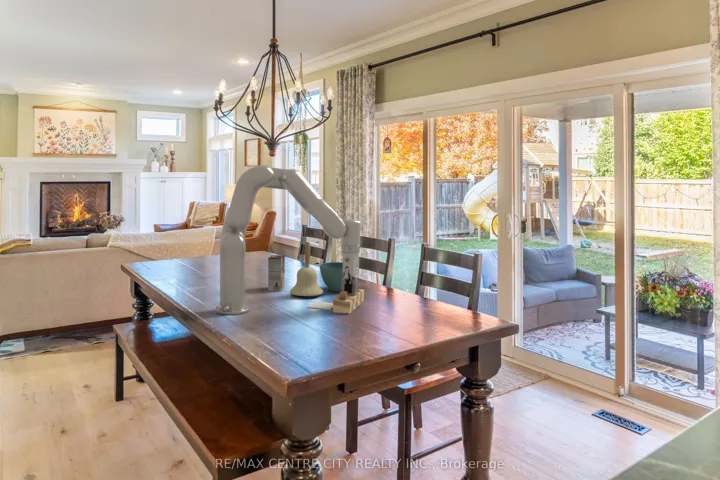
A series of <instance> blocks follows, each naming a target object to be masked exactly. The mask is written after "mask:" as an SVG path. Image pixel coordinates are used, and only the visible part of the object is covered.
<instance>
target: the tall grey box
mask: <svg viewBox="0 0 720 480" xmlns="http://www.w3.org/2000/svg"><path fill="white" fill-rule="evenodd" d="M349 279H350V278H349ZM344 282H345V279H344V277H343V278H342V289H341V291H344V284H345V283H344ZM351 284H352V293H347V295H348V296H356V295H357V293H358V284H359V277H355V278H352V282H351Z"/></svg>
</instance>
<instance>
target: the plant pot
mask: <svg viewBox="0 0 720 480" xmlns="http://www.w3.org/2000/svg"><path fill="white" fill-rule="evenodd" d="M319 271H320V275H321V278H322V281H323V282H324V283H323V284H324V285H325V286H326V288H328V290H329V291H331V292H339V293H340V292H341V289H342V278H343V277H344V276H343V261H340V262H338V261H337V262H336V261H335V262H334V261H333V262H332V261H331V262H324V263H320V264H319Z"/></svg>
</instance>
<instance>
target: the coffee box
mask: <svg viewBox="0 0 720 480" xmlns="http://www.w3.org/2000/svg"><path fill="white" fill-rule="evenodd" d="M285 260H286V257H285V255H284V254H283V255H281V254H279V255H277V254H275V255H274V254H272V255H270V256H269V257H268V262H267V264H268V265H267V266H268V267H267V271H268V272H267V273H268V275H267V276H268V277H267V282H268V286H267V291H268V292H282V291H283V290H284V288H285V267H286V266H285V265H286V264H285Z"/></svg>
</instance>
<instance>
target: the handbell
mask: <svg viewBox="0 0 720 480" xmlns="http://www.w3.org/2000/svg"><path fill="white" fill-rule="evenodd" d="M310 244H311V243H310V241H306V242H305V244H304V262H305V263H304V264H305V266H303V267H300V268H299V269H298V270H297V273H296V283H295V285H293V287H292V288H291V289H290V290H289V294H291V295H294V296H300V297H315V296H316V297H317V296H321V295H322V294H323V293H324V290H323V288H321V287H320V286H319V285H318V273H317V271H316V269H315V268H314V267H310V261H311V245H310Z"/></svg>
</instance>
